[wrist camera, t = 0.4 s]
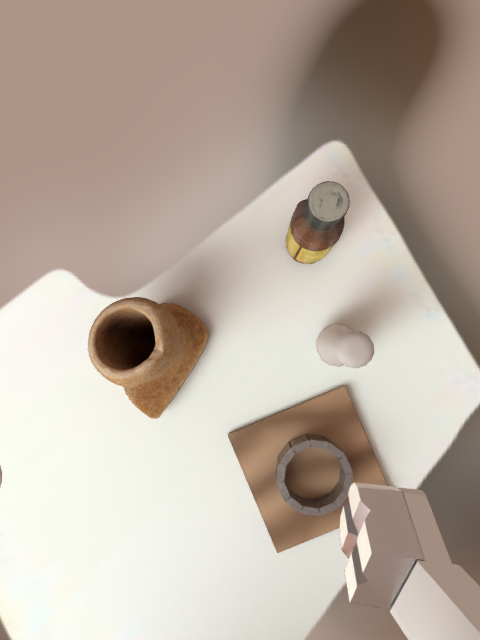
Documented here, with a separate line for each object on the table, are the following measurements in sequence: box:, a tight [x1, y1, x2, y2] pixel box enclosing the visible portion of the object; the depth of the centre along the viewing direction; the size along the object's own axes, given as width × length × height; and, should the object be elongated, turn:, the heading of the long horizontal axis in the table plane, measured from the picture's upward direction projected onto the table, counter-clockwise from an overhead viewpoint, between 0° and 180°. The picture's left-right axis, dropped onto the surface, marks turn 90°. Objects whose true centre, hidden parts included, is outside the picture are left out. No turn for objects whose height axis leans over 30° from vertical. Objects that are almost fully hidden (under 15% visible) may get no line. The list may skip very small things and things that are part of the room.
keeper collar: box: [275, 434, 353, 516], centre depth 57 cm, size 10×10×3 cm
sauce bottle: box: [286, 181, 349, 264], centre depth 50 cm, size 6×6×20 cm
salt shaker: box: [316, 324, 374, 368], centre depth 53 cm, size 6×6×13 cm
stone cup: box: [88, 297, 208, 419], centre depth 53 cm, size 15×12×15 cm
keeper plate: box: [228, 385, 387, 553], centre depth 59 cm, size 18×18×1 cm
